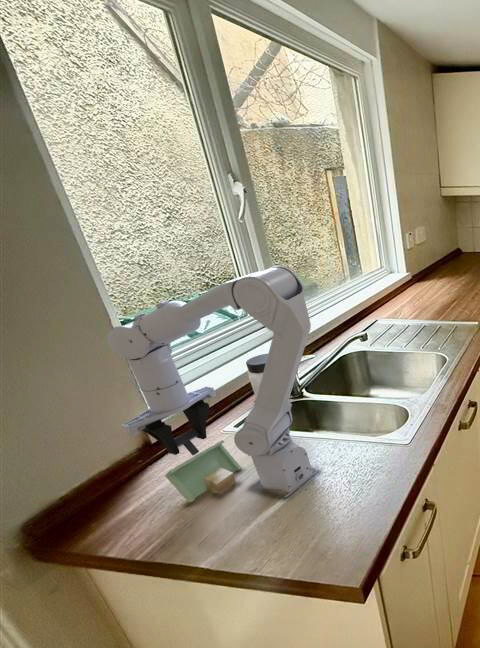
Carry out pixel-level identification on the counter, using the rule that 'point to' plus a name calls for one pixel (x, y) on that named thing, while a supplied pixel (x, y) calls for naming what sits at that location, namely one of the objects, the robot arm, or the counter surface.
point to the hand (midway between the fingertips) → (188, 445)
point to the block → (219, 480)
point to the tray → (199, 466)
